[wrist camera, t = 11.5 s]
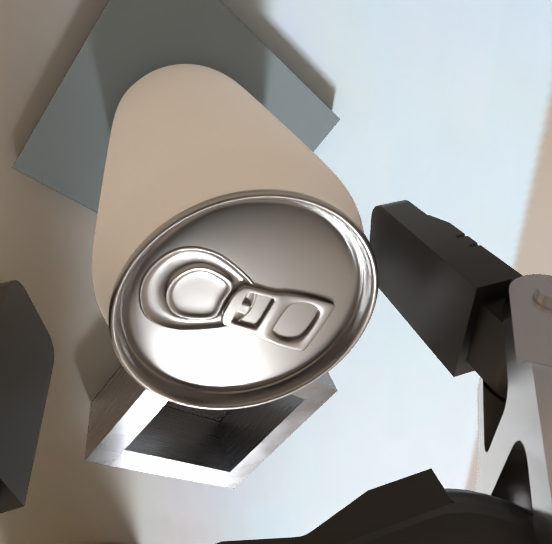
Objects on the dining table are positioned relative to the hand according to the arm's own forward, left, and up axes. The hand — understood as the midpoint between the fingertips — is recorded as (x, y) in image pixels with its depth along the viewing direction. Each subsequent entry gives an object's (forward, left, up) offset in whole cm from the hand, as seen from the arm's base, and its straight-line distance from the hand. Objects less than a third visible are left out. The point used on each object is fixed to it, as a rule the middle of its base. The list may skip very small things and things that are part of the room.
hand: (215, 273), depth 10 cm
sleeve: (-12, -10, -11) cm, 19 cm away
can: (0, -1, -11) cm, 11 cm away
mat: (0, 0, -11) cm, 11 cm away
